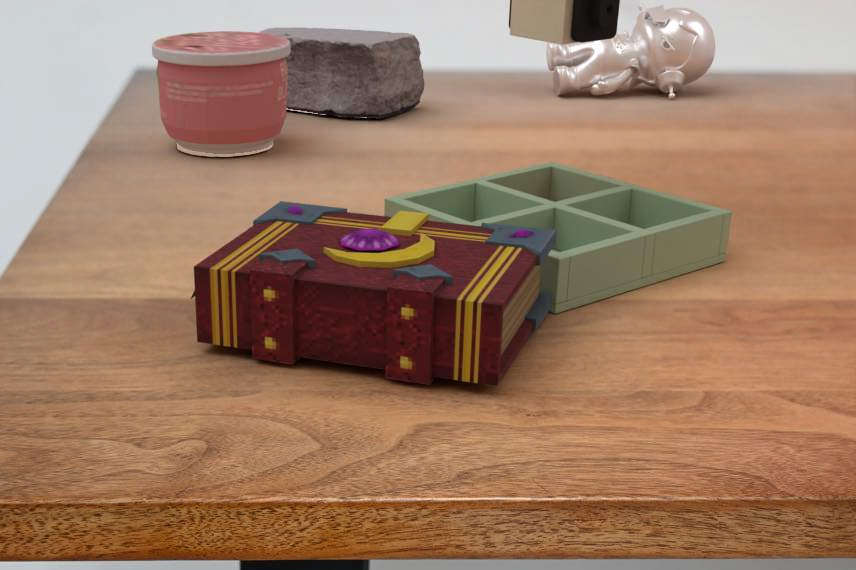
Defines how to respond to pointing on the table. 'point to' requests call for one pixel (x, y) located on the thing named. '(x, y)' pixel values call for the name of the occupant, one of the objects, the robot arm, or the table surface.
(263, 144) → the container
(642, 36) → the figurine
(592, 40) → the robot arm
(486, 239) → the decorative book
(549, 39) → the block
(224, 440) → the table surface
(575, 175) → the grid
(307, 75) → the decorative stone
